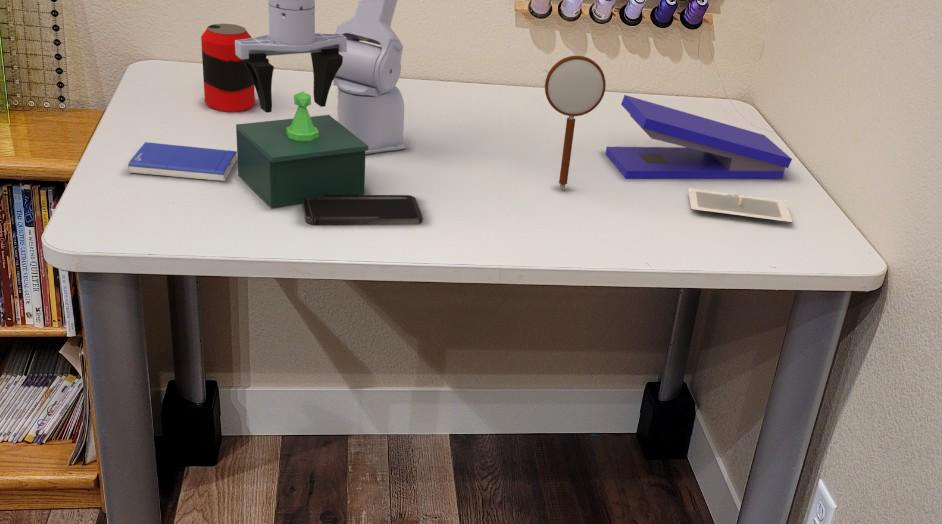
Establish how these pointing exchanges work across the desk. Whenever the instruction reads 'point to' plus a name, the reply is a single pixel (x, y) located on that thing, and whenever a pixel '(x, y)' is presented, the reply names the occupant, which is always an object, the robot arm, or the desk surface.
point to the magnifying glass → (573, 97)
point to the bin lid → (281, 148)
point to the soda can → (225, 69)
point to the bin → (299, 175)
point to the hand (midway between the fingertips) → (293, 107)
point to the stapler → (695, 148)
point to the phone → (362, 210)
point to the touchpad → (739, 205)
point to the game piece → (302, 120)
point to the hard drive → (183, 161)
